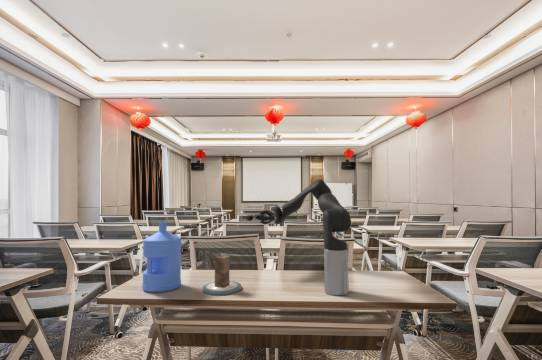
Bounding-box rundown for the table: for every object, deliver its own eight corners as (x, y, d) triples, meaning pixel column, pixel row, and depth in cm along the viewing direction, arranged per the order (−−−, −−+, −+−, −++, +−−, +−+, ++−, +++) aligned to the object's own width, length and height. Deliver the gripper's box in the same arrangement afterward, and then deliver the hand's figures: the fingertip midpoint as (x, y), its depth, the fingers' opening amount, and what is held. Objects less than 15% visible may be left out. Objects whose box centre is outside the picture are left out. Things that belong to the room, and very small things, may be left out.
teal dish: (247, 285, 130) (247, 282, 130) (230, 297, 115) (230, 293, 115) (215, 282, 136) (215, 279, 136) (194, 292, 121) (194, 289, 121)
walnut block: (229, 284, 127) (229, 256, 128) (224, 287, 123) (224, 258, 124) (220, 283, 129) (220, 255, 129) (214, 286, 124) (214, 257, 125)
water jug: (164, 280, 139) (165, 220, 141) (188, 285, 131) (189, 221, 133) (134, 289, 126) (135, 222, 128) (158, 295, 118) (159, 224, 120)
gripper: (255, 209, 165) (242, 210, 149) (280, 209, 160) (269, 211, 145) (255, 223, 164) (243, 226, 149) (280, 223, 159) (269, 226, 144)
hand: (256, 218), depth 147 cm, fingers open, 8 cm apart
